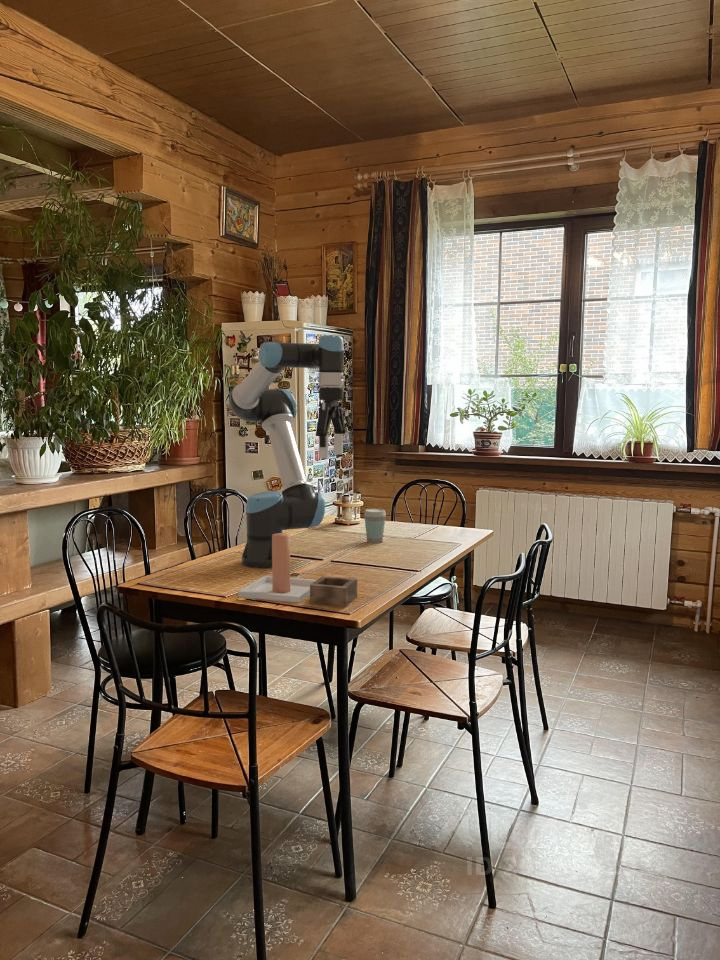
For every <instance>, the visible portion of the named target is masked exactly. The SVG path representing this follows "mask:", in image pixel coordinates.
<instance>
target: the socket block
mask: <svg viewBox="0 0 720 960" xmlns="http://www.w3.org/2000/svg"><path fill="white" fill-rule="evenodd" d="M315 580H316V581H315V582H314V583H312V584H311V585H310V595H309V604H310V605H319V606H320V605H321V606H331V607H341V608H347V607H348V606H349V605H350V604H351V603H352V602H353V601H354V600H356V599H357V598H358V578H350V577H341V576H328V575H327V576H326V575H322V576H321V577H319V578H318V579H315Z"/></svg>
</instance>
